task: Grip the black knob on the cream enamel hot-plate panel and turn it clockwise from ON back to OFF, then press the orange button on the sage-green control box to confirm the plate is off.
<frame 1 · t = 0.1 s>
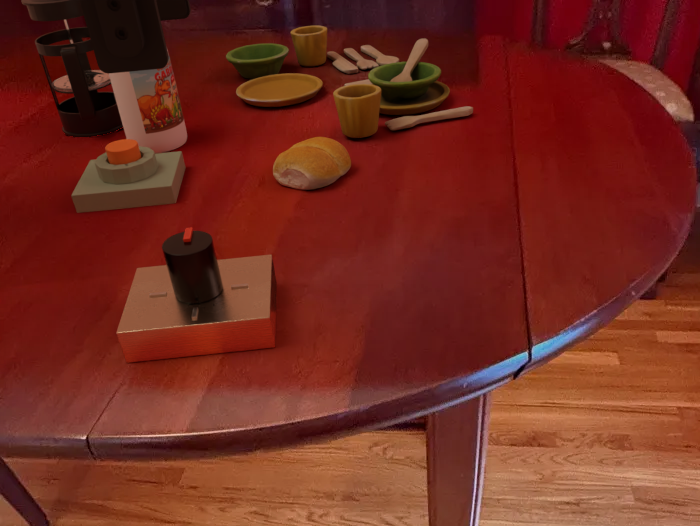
hand: (151, 41, 38), 25 cm above the table, tool pointing down, fingers open, 9 cm apart
milk bottle: (159, 145, 96), on the table
tableware set: (334, 94, 107), on the table
off button: (123, 152, 82), point 5 cm above the table, slide at 0.2 cm
bread roll: (313, 177, 84), on the table
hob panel: (206, 320, 62), on the table
control box: (134, 189, 84), on the table
french press: (97, 128, 102), on the table
hob knob: (192, 265, 59), point 5 cm above the table, hinge at 90.0°
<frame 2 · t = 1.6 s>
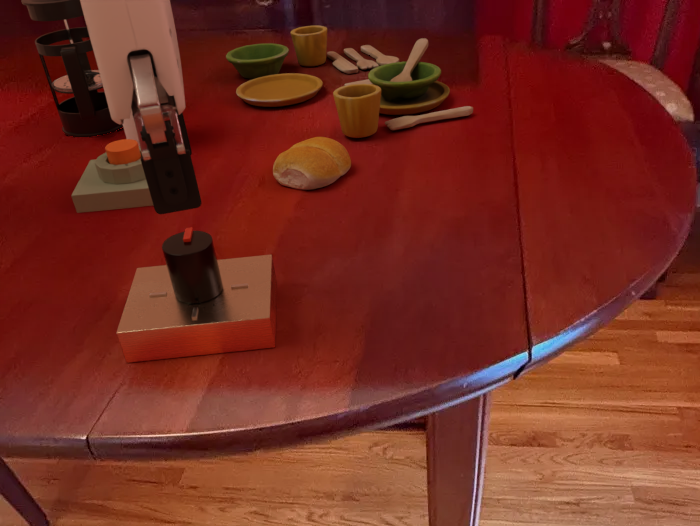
hand: (175, 182, 54), 13 cm above the table, tool pointing down, fingers open, 9 cm apart
nothing on the table moved.
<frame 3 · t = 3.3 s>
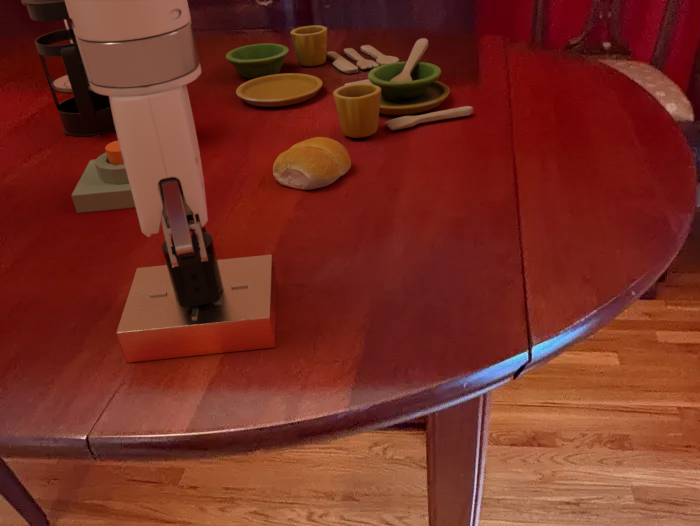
hand: (197, 285, 60), 4 cm above the table, tool pointing down, fingers closed on hob knob, 4 cm apart
hob knob: (192, 265, 59), point 5 cm above the table, hinge at 89.9°, touching gripper
everything else where it was.
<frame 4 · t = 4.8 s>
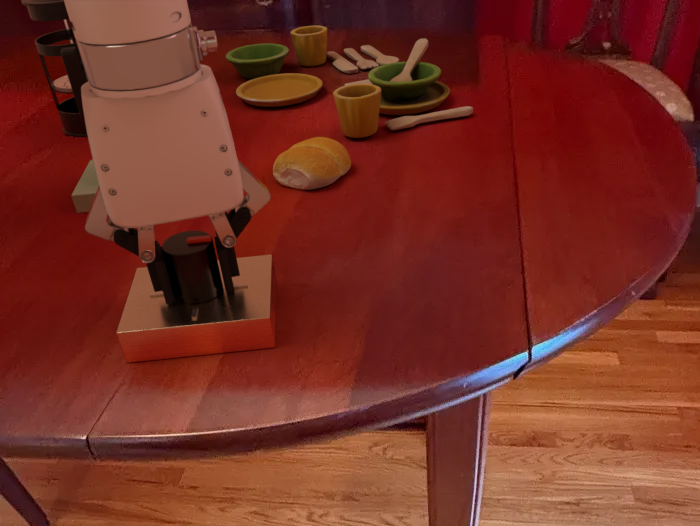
hand: (199, 287, 60), 3 cm above the table, tool pointing down, fingers closed on hob knob, 4 cm apart
hob knob: (192, 265, 59), point 5 cm above the table, hinge at 0.8°, touching gripper
everything else where it was.
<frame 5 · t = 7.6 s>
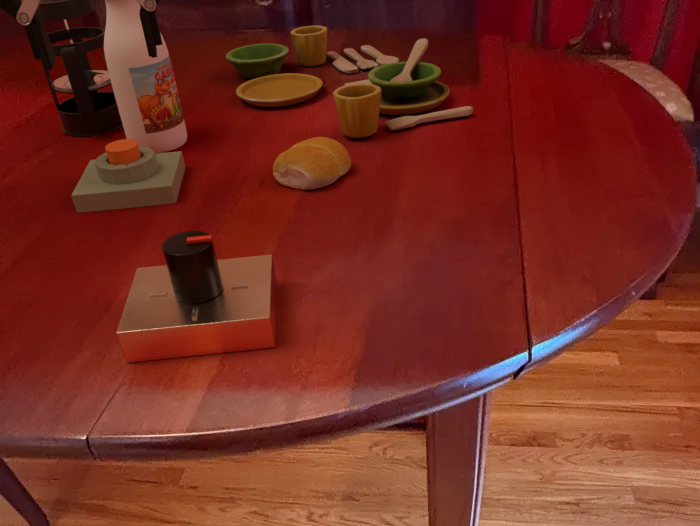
hand: (102, 60, 69), 16 cm above the table, tool pointing down, fingers open, 9 cm apart
hob knob: (192, 265, 59), point 5 cm above the table, hinge at 0.9°
everything else where it was.
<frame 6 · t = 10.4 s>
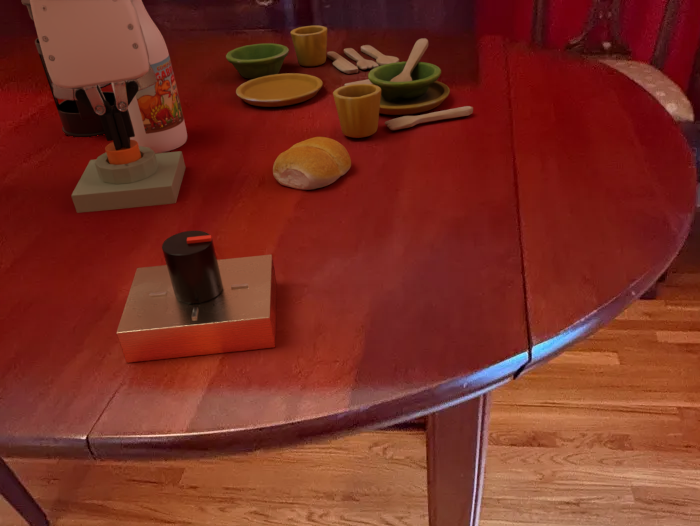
hand: (123, 144, 81), 5 cm above the table, tool pointing down, fingers closed
off button: (123, 152, 82), point 5 cm above the table, slide at 0.1 cm, touching gripper
everything else where it was.
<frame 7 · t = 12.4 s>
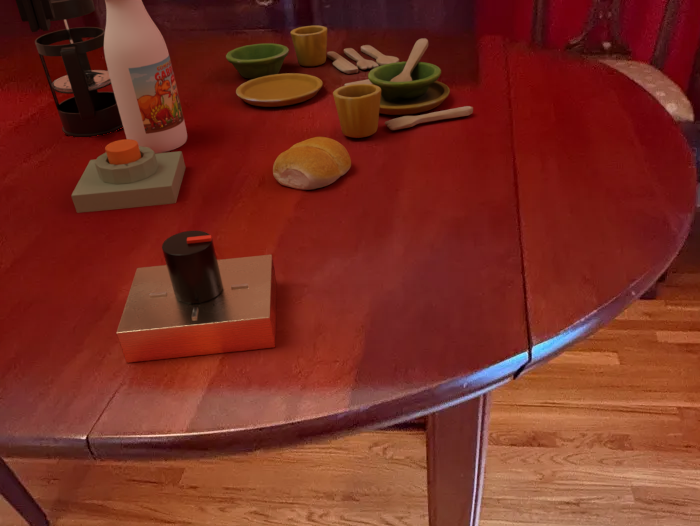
hand: (41, 28, 72), 18 cm above the table, tool pointing down, fingers closed
off button: (123, 152, 82), point 5 cm above the table, slide at 0.1 cm
everything else where it was.
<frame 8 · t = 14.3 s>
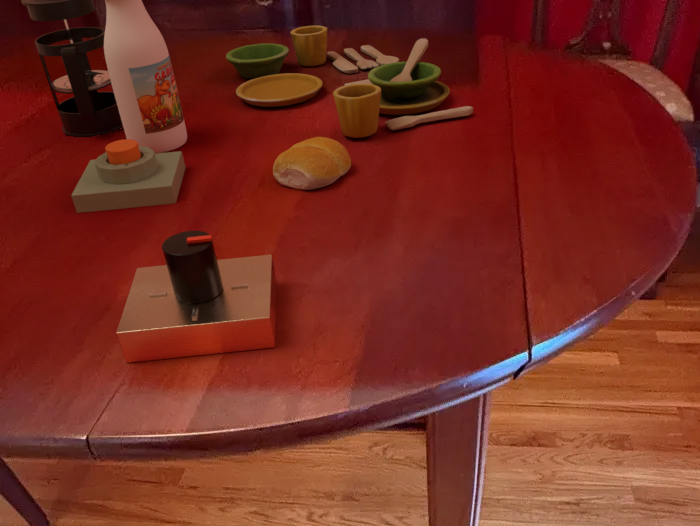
nothing on the table moved.
at the end: hob knob at +1° (first picture: +90°); off button pushed in 1.1 cm at the most during the clip, back to where it started at the end; off button slide at 0.1 cm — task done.
